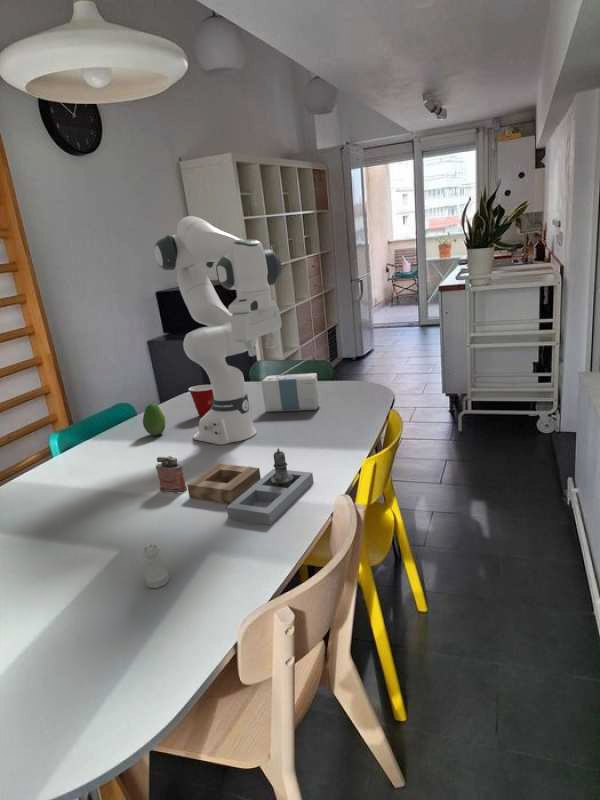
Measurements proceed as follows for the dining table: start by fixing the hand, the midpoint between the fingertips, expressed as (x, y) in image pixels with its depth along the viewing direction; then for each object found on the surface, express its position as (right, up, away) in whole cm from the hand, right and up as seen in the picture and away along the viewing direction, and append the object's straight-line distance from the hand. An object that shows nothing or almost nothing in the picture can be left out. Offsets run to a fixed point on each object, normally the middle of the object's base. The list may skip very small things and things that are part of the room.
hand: (261, 351), depth 151 cm
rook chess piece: (-18, -50, -41) cm, 68 cm away
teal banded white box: (+8, -17, +61) cm, 64 cm away
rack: (+4, -39, -12) cm, 41 cm away
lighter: (-25, -39, +1) cm, 46 cm away
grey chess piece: (+6, -37, -7) cm, 39 cm away
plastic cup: (-27, -20, +67) cm, 75 cm away
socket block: (-10, -38, -3) cm, 39 cm away
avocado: (-42, -26, +50) cm, 71 cm away
